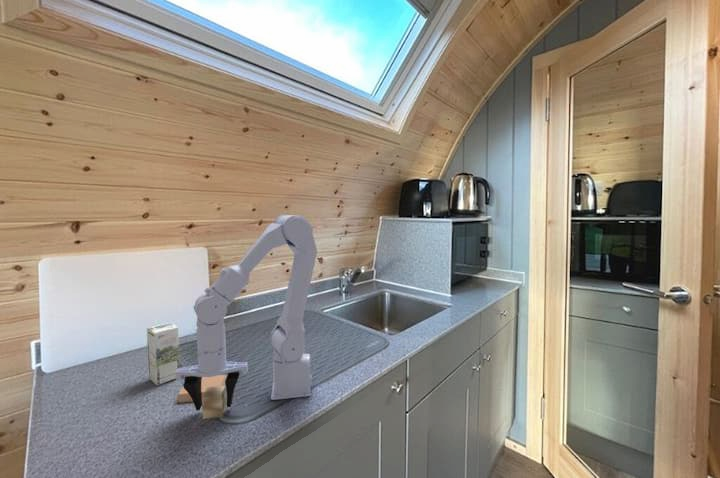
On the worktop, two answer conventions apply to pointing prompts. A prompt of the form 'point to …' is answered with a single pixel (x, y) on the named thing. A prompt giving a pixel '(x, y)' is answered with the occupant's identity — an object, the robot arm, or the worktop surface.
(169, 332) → the syrup box
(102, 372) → the worktop surface
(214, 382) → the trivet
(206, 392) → the beech block
